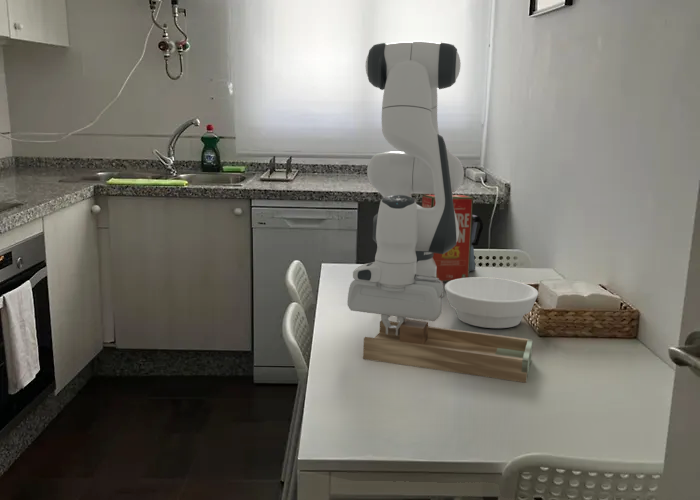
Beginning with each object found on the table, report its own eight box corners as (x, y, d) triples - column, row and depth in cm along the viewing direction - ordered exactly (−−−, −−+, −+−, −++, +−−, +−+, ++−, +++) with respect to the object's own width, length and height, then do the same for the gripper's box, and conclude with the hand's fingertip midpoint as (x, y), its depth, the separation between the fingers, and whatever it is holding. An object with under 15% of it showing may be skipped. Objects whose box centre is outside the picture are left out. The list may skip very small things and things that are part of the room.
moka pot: (454, 262, 234) (457, 203, 229) (491, 272, 222) (495, 209, 218) (434, 266, 228) (437, 205, 223) (471, 276, 216) (475, 212, 212)
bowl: (423, 317, 175) (425, 285, 173) (482, 302, 189) (484, 272, 188) (496, 343, 158) (498, 307, 157) (554, 324, 173) (557, 291, 171)
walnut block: (405, 336, 155) (405, 318, 154) (427, 339, 153) (428, 321, 152) (399, 343, 150) (400, 325, 149) (422, 346, 149) (423, 328, 148)
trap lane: (380, 339, 158) (381, 320, 157) (531, 359, 148) (532, 339, 147) (363, 358, 146) (363, 338, 145) (525, 382, 136) (527, 360, 135)
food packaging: (428, 282, 205) (431, 196, 202) (417, 276, 214) (420, 194, 211) (470, 281, 209) (474, 196, 205) (458, 275, 218) (462, 194, 214)
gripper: (446, 274, 150) (443, 336, 152) (355, 264, 156) (353, 324, 159) (440, 281, 144) (436, 345, 147) (345, 270, 150) (344, 332, 153)
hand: (392, 334), depth 153 cm, fingers closed
